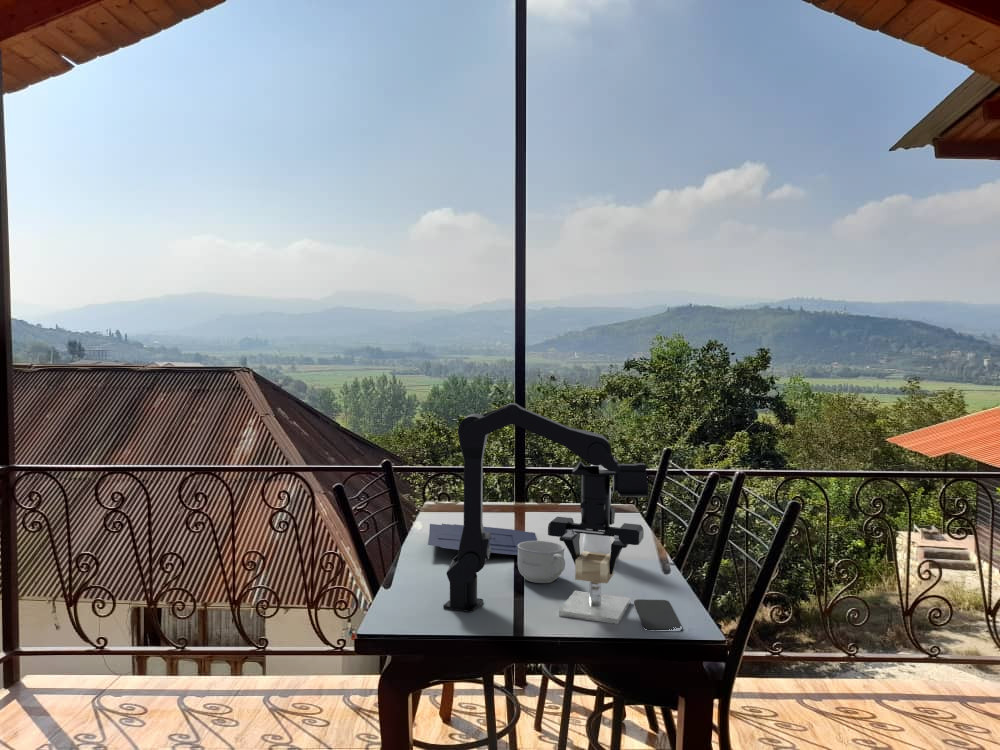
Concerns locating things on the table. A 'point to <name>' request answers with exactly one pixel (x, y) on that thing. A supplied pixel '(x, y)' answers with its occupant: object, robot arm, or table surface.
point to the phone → (656, 614)
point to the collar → (593, 567)
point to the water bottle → (597, 538)
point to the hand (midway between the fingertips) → (595, 571)
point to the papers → (499, 539)
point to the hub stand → (595, 605)
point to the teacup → (540, 560)
